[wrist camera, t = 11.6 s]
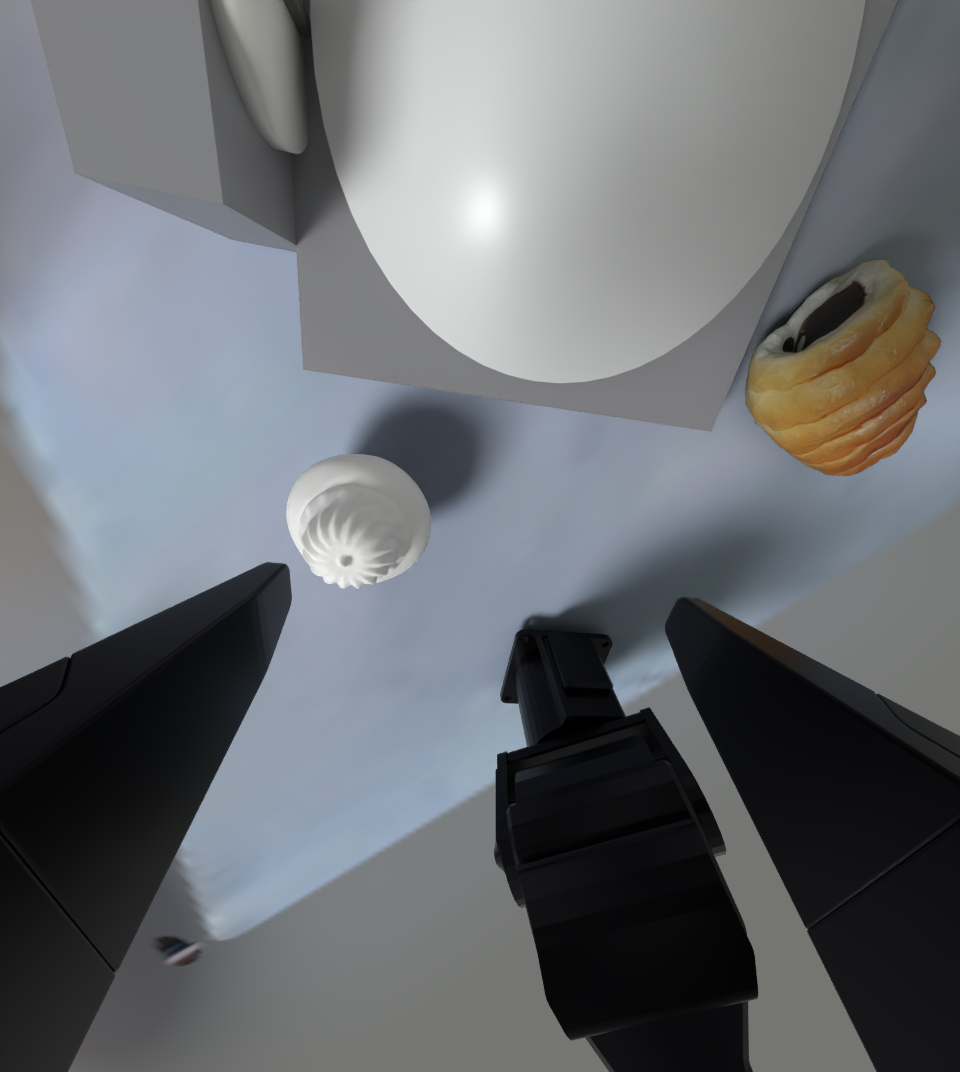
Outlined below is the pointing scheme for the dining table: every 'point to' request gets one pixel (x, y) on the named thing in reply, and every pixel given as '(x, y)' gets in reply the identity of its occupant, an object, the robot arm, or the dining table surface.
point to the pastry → (846, 371)
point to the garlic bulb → (358, 519)
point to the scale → (485, 172)
